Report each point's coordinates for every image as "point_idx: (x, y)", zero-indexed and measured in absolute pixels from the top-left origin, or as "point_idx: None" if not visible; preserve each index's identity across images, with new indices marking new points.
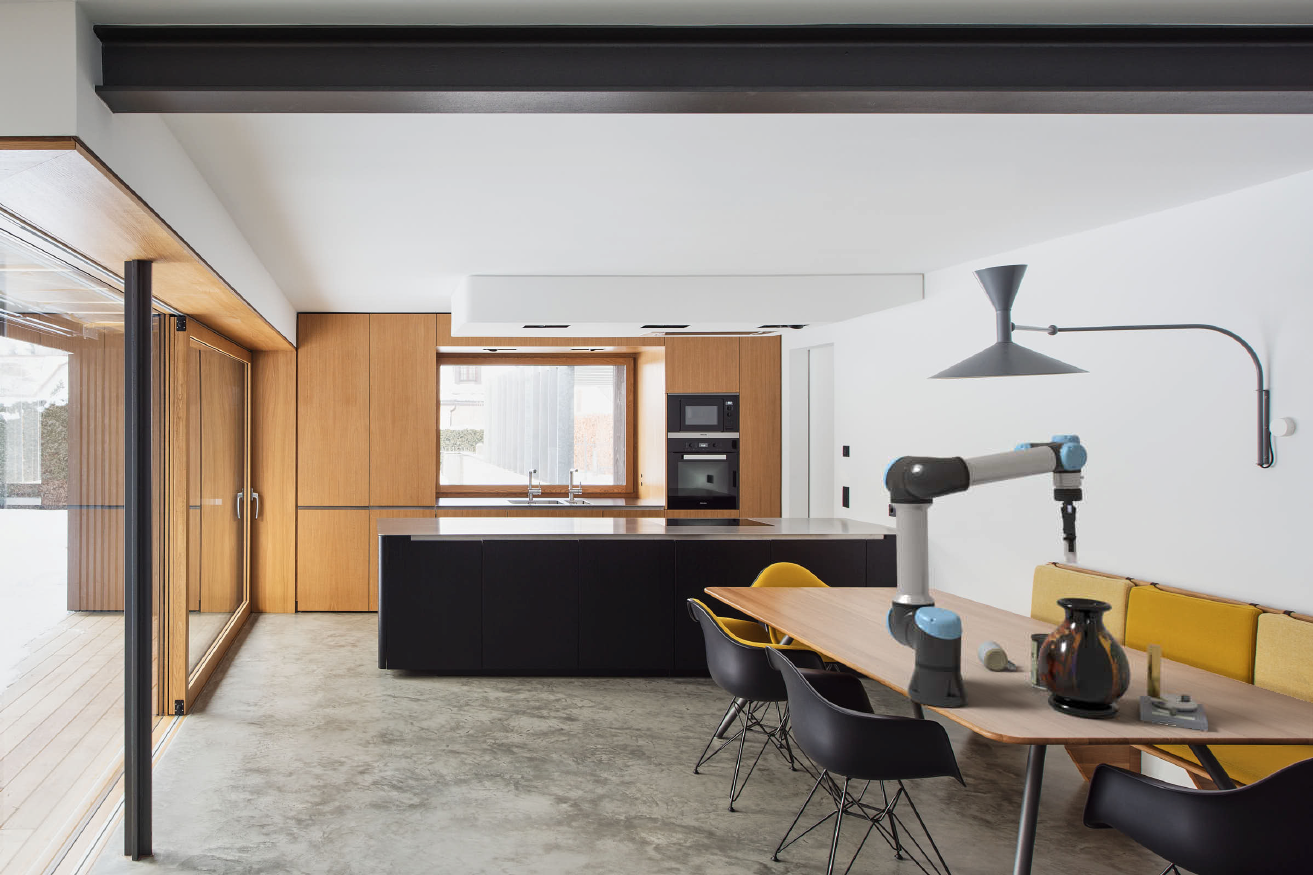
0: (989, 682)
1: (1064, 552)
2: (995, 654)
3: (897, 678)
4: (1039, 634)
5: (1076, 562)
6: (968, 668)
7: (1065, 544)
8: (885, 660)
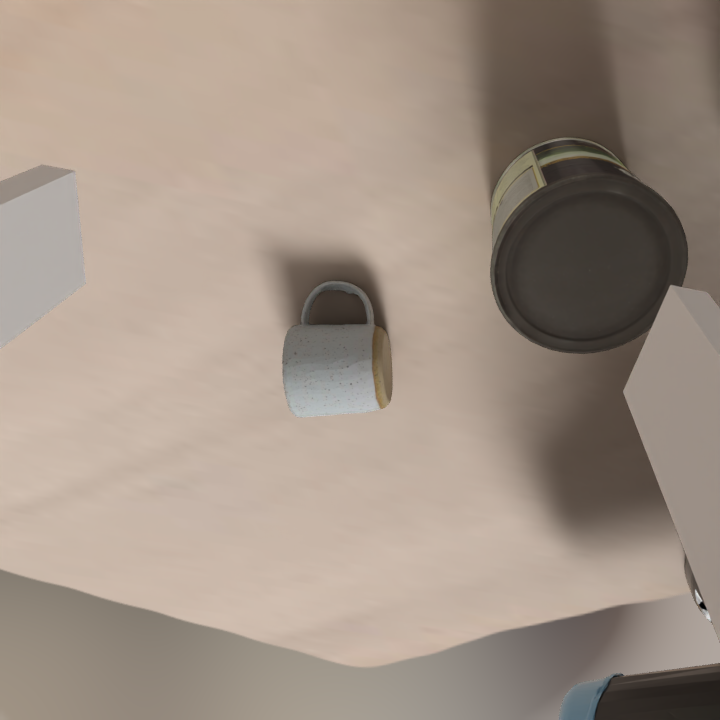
0: (546, 396)
1: (58, 300)
2: (385, 380)
3: (560, 611)
4: (514, 304)
5: (707, 299)
6: (378, 422)
7: (696, 574)
8: (365, 606)
